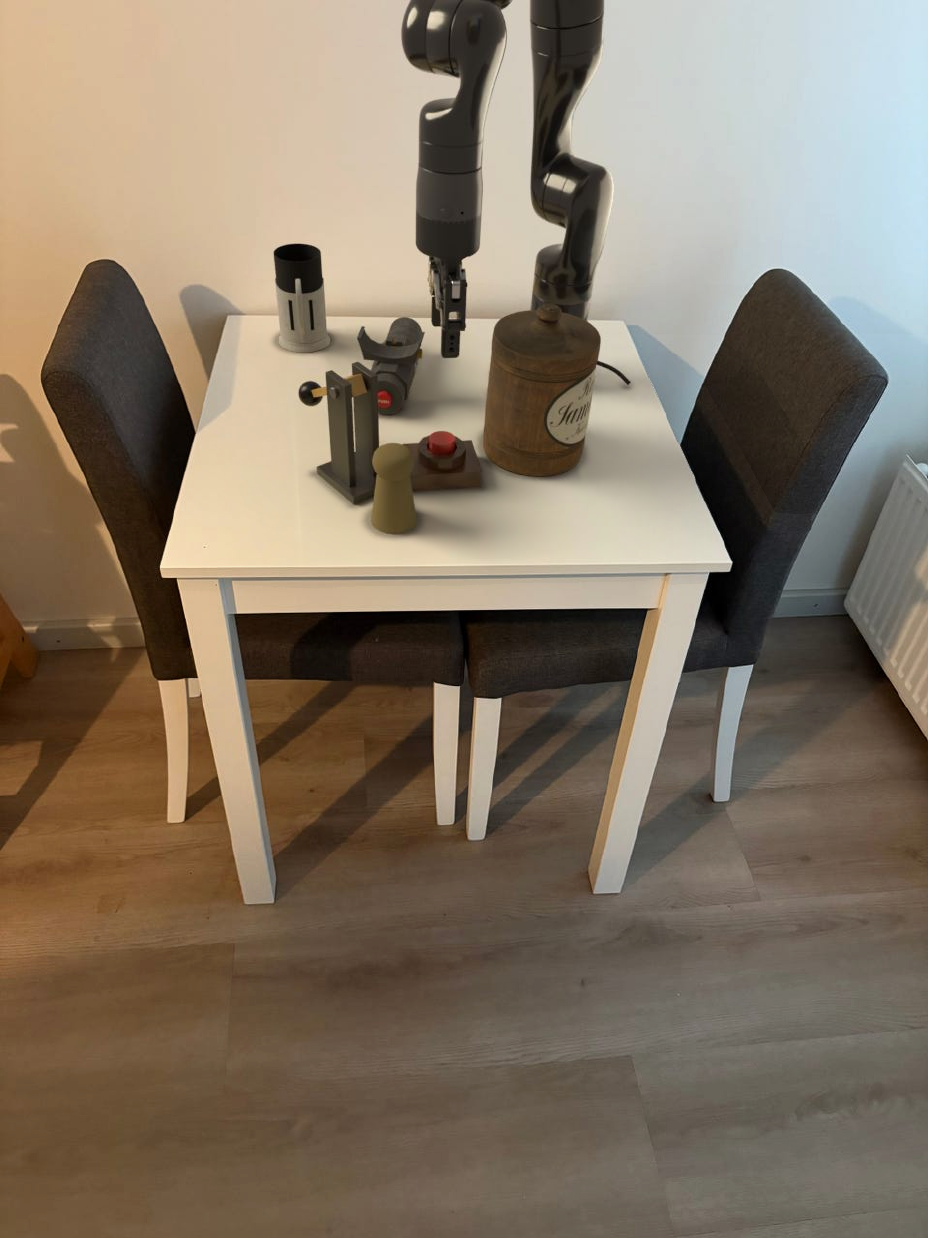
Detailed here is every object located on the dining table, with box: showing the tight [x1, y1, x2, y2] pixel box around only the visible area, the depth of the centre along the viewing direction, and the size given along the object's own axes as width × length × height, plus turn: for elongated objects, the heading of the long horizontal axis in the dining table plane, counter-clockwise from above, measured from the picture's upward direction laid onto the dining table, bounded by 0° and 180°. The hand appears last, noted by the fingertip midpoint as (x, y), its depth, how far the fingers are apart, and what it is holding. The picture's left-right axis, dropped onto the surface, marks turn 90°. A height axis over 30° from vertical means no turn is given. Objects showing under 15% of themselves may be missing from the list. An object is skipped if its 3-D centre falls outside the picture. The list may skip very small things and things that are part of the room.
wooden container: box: [482, 303, 602, 477], centre depth 124 cm, size 15×15×22 cm
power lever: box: [297, 374, 367, 407], centre depth 118 cm, size 15×3×3 cm, turn 39°
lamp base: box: [402, 434, 483, 492], centre depth 124 cm, size 10×8×4 cm
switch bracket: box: [316, 361, 380, 505], centre depth 118 cm, size 9×7×16 cm
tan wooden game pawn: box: [370, 442, 418, 535], centre depth 114 cm, size 6×6×11 cm
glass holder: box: [272, 243, 331, 353], centre depth 145 cm, size 9×14×15 cm, turn 8°
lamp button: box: [428, 430, 456, 455], centre depth 122 cm, size 4×4×2 cm
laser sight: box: [356, 316, 426, 416], centre depth 140 cm, size 10×22×10 cm, turn 174°
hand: (444, 340), depth 112 cm, fingers open, 8 cm apart
